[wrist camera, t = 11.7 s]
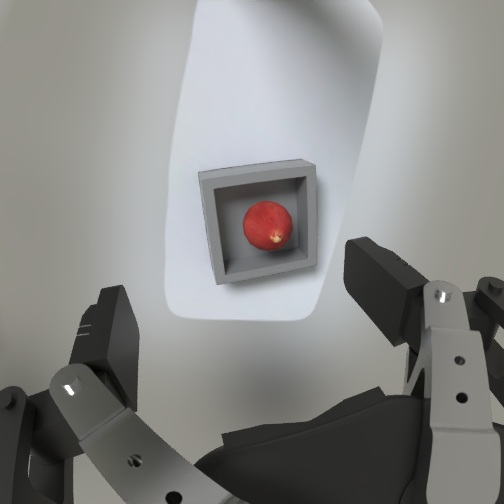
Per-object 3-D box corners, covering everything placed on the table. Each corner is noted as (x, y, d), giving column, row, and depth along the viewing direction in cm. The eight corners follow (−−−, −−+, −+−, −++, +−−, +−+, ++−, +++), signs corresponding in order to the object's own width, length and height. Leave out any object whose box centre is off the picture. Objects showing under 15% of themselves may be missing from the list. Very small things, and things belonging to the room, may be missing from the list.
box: (197, 172, 37) (201, 179, 33) (301, 159, 39) (315, 165, 35) (212, 268, 43) (216, 285, 39) (303, 250, 45) (316, 265, 41)
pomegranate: (286, 198, 40) (311, 219, 33) (274, 239, 43) (295, 267, 36) (243, 189, 39) (260, 209, 32) (232, 232, 41) (246, 260, 34)
